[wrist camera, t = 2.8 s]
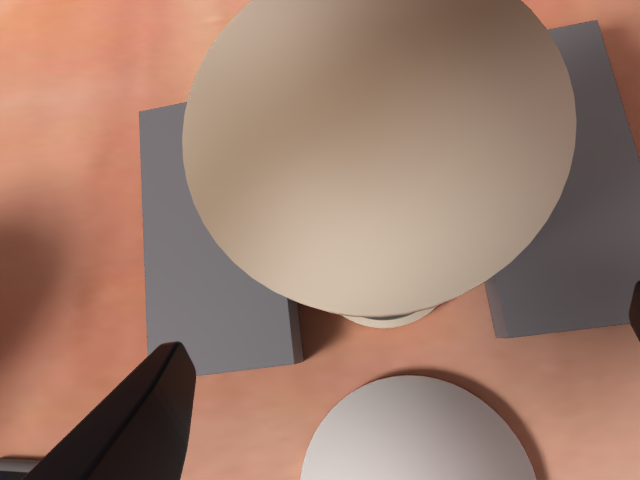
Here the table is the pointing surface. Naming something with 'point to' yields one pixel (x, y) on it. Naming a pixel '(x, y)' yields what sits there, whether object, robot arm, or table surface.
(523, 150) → the bobbin
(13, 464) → the smartphone
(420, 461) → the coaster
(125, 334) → the table surface
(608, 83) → the notched board
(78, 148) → the table surface
